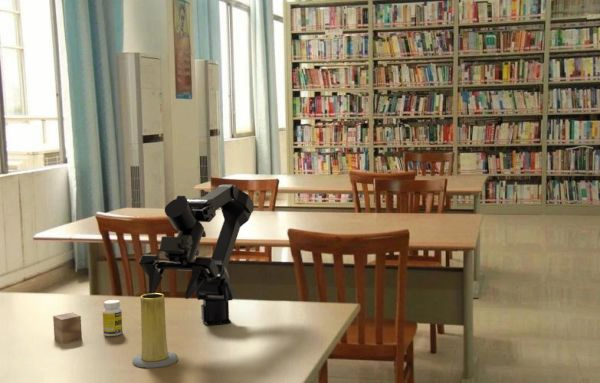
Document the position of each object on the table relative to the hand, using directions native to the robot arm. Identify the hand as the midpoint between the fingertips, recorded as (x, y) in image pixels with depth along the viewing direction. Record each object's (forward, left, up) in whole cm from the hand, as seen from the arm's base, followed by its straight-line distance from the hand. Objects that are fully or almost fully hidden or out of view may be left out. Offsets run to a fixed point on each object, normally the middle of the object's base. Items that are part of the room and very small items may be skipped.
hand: (168, 297), depth 174 cm
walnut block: (+22, -20, -13) cm, 33 cm away
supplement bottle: (+11, -20, -13) cm, 27 cm away
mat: (+4, +6, -13) cm, 15 cm away
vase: (+4, +5, -13) cm, 14 cm away
